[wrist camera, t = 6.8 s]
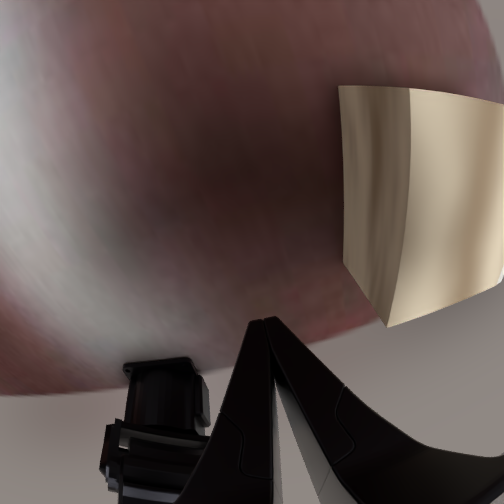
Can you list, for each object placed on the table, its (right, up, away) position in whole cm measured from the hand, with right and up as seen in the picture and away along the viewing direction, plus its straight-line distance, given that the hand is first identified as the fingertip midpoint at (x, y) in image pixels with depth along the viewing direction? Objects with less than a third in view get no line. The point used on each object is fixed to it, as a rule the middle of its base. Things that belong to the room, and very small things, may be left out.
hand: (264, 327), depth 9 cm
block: (+10, +8, +9) cm, 15 cm away
